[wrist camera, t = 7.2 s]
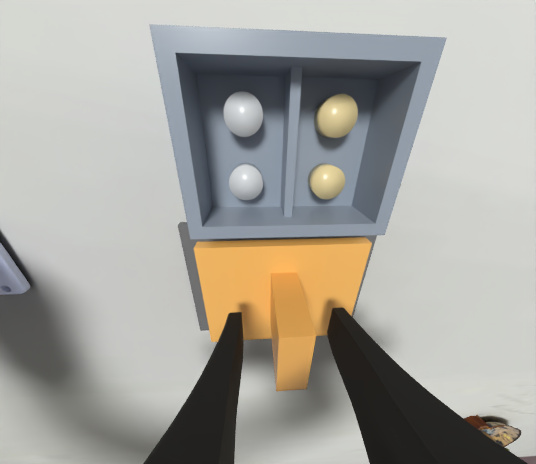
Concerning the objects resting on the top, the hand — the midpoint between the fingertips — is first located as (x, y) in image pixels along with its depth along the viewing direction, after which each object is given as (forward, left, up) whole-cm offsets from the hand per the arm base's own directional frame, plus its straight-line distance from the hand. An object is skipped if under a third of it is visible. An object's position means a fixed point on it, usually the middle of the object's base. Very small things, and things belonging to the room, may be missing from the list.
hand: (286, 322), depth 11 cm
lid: (0, 0, -3) cm, 3 cm away
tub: (0, +8, -4) cm, 9 cm away
